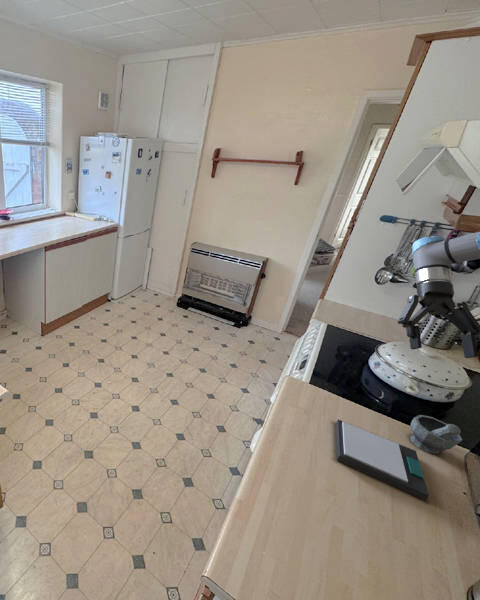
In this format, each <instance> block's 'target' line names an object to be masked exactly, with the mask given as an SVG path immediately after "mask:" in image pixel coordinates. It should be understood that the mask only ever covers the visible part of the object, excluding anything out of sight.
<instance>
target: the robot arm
mask: <svg viewBox="0 0 480 600" xmlns="http://www.w3.org/2000/svg"><path fill="white" fill-rule="evenodd" d="M411 250H412V251H411V252H412V253H411V257H412V263H413V269H414V278H415V286H416V294H413V295H411V296H408V297H407V298H406V304H405V307H404V308H403V310H402V312H401V314H400V316H399V318H398V319H397V324H399V325H401V327H402V328H405V331H406V332H405V333H406V336H407V337H408V338H409V347H410V350H417V349H422V337H421V329H420V325H417V324H418V323H420V322H421V320H422V319H423V318H425V316H426V315H428V314H430V315H437V316H442V317H444V318H445V319H447V320H449V321H450V322H451V323H452V325H454V326H455V328H457V329H458V330H459V331H460V332H461V333H462V334H463V335H461V344H462V350H463V356H464V359H470V358H471V359H472V358H477V357H479V356H478V351H477V347H478V345H479V344H478V339H477V336H478V335H480V323H479V322H478V320H477V319H476V317H475V316H474V314H473V313H472V312H471V311H470V309H469V307H468V303H467V302H466V301H460V302H455V301H454V299H453V298H454V296H455V290H454V284H453V276H452V271H451V265H454V264H460V263H464V262H470V261H475V260H480V231H476V232H473V233H470V234H469V233H468V234H466V235H465V234H464V235H462V236H458V237H454V238H450V239H446V238H445V237H443V236H441V235H432V236H425V237H421V238H418V239H417V240H416V241H414V242H413V244H412V249H411ZM418 305H420V306H421V307H420V308H419V309H418V310H417V312H416V313H414V312H415V310H416V309H417V306H418Z"/></svg>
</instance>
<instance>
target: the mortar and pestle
mask: <svg viewBox="0 0 480 600" xmlns="http://www.w3.org/2000/svg"><path fill="white" fill-rule="evenodd" d="M410 430H411V432H412V435H411V436H410V441H411V442H412V444H414V445H415V446H416V447H417V448H419V449H420V450H423V451H424V452H426V453H430V454H434V455H436V454H438V453H440V452H441V451H449V450H451V449H452V448H454V447H456V446H457V445H459V444H460V443H461V442H462V441H463V438H462V436H461V432H462V431H461V428H460V427H459V426H458V425H456V424H454V423H446V422H444V421H442V420H439V419H437V418H435V417H433V416H428V415H424V414H418V415H416V416H414V417H413V419H412V420H411V422H410Z"/></svg>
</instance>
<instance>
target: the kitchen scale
mask: <svg viewBox="0 0 480 600" xmlns="http://www.w3.org/2000/svg"><path fill="white" fill-rule="evenodd" d="M334 426H335V451H336V452H335V453H336V461H337V462H340V463H341V464H344V465H345V466H348V467H350V468H353V469H355V470H357V471H359V472H361V473H363V474H366V475H368V476H370V477H372V478H374V479H377V480H379V481H381V482H383V483H385V484H386V485H387V484H388V485H390V486H392V487H394V488H396V489H398V490H400V491H402V492H405V493H407V494H409V495H412V496H414V497H416V498H418V499H420V500H422V501H424V502H425V501H426V500H427V499H428V498H429V497H430V493H429V490H428V487H427V483H426V480H425V477H424V473H423V470H422V467H421V464H420V461H419V458H418V453H417V450H415V449H412V448H410V447H407V446H405V445H402V444H400V443H397V442H395V441H393V440H390V439H388V438H385V437H383V436H380V435H378V434H376V433H374V432H370V431H368V430H366V429H364V428H360V427H359V426H355V425H354V424H351V423H348V422H346V421H343V420H342V419H337V420H336V422H335V424H334Z"/></svg>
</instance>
